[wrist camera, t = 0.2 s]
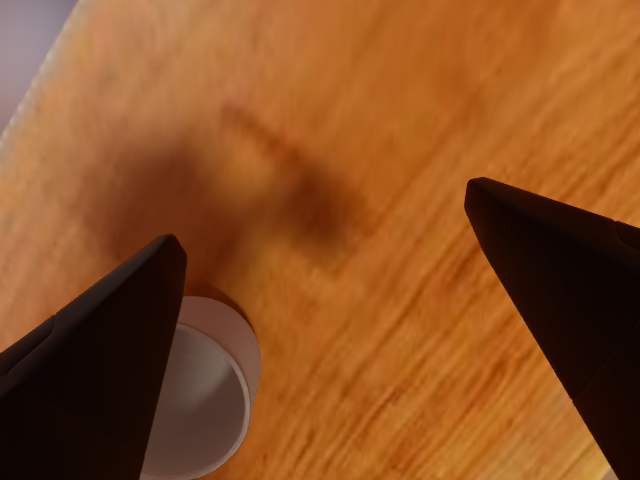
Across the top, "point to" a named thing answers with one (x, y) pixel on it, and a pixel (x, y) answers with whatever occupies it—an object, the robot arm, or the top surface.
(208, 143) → the top surface
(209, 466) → the teacup
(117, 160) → the top surface
